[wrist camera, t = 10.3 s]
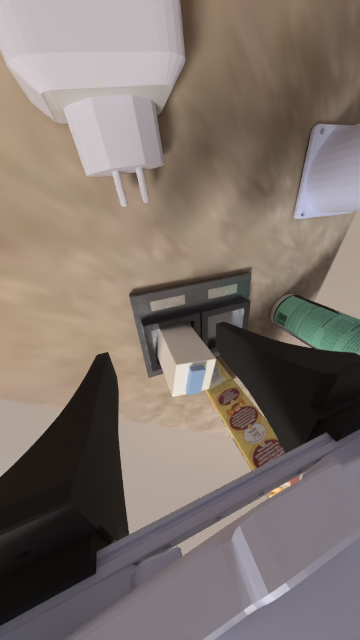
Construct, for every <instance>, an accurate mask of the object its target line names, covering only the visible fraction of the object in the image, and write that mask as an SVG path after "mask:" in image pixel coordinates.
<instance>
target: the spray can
mask: <svg viewBox="0 0 360 640" xmlns="http://www.w3.org/2000/svg"><path fill="white" fill-rule="evenodd" d="M270 320H271V322H272V323H273V324H275V325H276V326H278V327H280V328H281V329H283V330H284V331H286V332H288V333H289V334H291V335H292V336H294V337H296V338H297V339H299V340H301V341H302V342H304V343H305V344H307V345H309V346H310V347H312V348H314V349H321V350H329V351H340V352H352V353H356V354H358V355H360V320H359V319H356V318H354V317H351V316H349V315H346V314H343V313H341V312H339V311H336V310H334V309H331V308H329V307H326V306H323V305H321V304H318V303H315V302H313V301H311V300H308V299H306V298H303V297H300V296H298V295H295V294H291V293H290V294H286V295H284V296H282V297H281V298H280V299H278V301H277V302H276V303H275V304H274V306H273V307H272V310H271V313H270Z"/></svg>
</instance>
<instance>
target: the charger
mask: <svg viewBox="0 0 360 640" xmlns="http://www.w3.org/2000/svg"><path fill="white" fill-rule="evenodd" d="M0 50H1V53H2V55H3V57H4V60H5V62H6V64H7V67H8V68H9V70H10V71H11V73H12V74H13V76H14V77H15V79H16V80H17V82H18V83H19V85H20V86H21V88H22V90H23V91H24V93H25V94H26V96H27V97H28V99H29V100H30V102H31V103H33V104H34V105H35V106H36V107H38V108H39V109H40V110H41V111H43V112H44V113H45V114H46V115H47V116H49V117H50V118H51V119H52V120H54V121H55V122H56V123H61V124H69V127H70V130H71V133H72V136H73V139H74V142H75V144H76V147H77V150H78V153H79V156H80V159H81V162H82V165H83V167H84V170H85V173H86V176H92V177H96V176H113V178H114V182H115V185H116V189H117V192H118V196H119V199H120V203H121V206H123V207H126V206H128V202H127V198H126V195H125V191H124V187H123V184H122V180H121V176H120V174H127V173H134V172H136V173H137V178H138V182H139V186H140V191H141V195H142V199H143V202H144V203H148V202H149V196H148V191H147V186H146V182H145V177H144V172H143V171H145V170H149V169H153V168H157V167H160V166H163V165H165V164H164V157H163V151H162V145H161V139H160V133H159V126H158V120H157V115H159V114H160V113H161V112H162V110H163V108H164V106H165V104H166V102H167V100H168V98H169V96H170V93H171V91H172V89H173V87H174V85H175V83H176V81H177V79H178V77H179V75H180V72H181V70H182V68H183V66H184V64H185V49H184V38H183V28H182V17H181V6H180V0H0Z"/></svg>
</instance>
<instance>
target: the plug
mask: <svg viewBox="0 0 360 640" xmlns="http://www.w3.org/2000/svg"><path fill="white" fill-rule="evenodd" d="M156 353H157V356H158V359H159V361H160V364H161V367H162V370H163V373H164V375H165V378H166V381H167V384H168V386H169V389H170V392H171V395H172V397H174V396H179V395H184V394H187V395H193V394H197V393H201V391H202V390H207V389H209V386H210V382H211V378H212V374H213V370H214V366H215V362H216V358H215V356H214V355H213V354H212V353H211V351H210V350H209V349H208V347H207V346H206V345H205V344H204V342H203V341H202V340H201V339H200V337H199V336H198V335H197V333H196V332H195V331H194V330H193V328H192V327H191V326H190V324H178V325H174V326H170V327H166V328H162V329H158V335H157V352H156Z"/></svg>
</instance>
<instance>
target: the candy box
mask: <svg viewBox="0 0 360 640" xmlns="http://www.w3.org/2000/svg"><path fill="white" fill-rule="evenodd" d="M215 358H216V357H215ZM205 391H206V393H207V395H208V397H209V399H210V400H211V402H212V404H213V406H214V407H215V409H216V411H217V413H218V414H219V416H220V418H221V420H222V421H223V423H224V425H225V427H226V428H227V430H228V432H229V433H230V435H231V437H232V438H233V440H234V442H235V443H236V445H237V447H238V449H239V451H240V452H241V454H242V456H243V457H244V459H245V461H246V462H247V464H248V466H249V467H250V469H251V471H253V470H255V469H257V468H259V467H261V466H263V465H265V464H266V463H268V462H270V461H272V460H274V459H276V458H278V457H280V456H282V455H284V454H286V453H285V451H284V449H283V447H282V446H281V444H280V442H279V440H278V438H277V437H276V435H275V433H274V431H273V429H272V428H271V426H270V424H269V423H268V422H267V421H266V419H265V418H264V417H263V416H262V414H261V413H260V412H259V411H258V410H257V408H256V407H255V406H254V405H253V403H252V402H251V401H250V400H249V399H248V397H247V396H246V395H245V394H244V392H243V391H242V390H241V389H240V387H239V386H238V385H237V384H236V382H235V381H234V380H233V379H232V377H231V376H230V375H229V374H228V373H227V371H226V370H225V369H224V368H223V366H222V365H221V364H220V362H219V361H218V360H217V359H216V362H215V366H214V370H213V374H212V378H211V382H210V386H209V389H207V390H205ZM298 481H299V476H297V477H295V478H293V479H292V480H290V481H288V482H286V483H285V484H283V485H281V486H279V487H278V488H276V489H274V490H272V491H271V492H269V493H267V494H266V496H267V497H268V498H270V497H272V496H274V495H275V494H277V493H279V492H281V491H282V490H284V489H286V488H287V487H289V486H291V485H293V484H294V483H296V482H298Z"/></svg>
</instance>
